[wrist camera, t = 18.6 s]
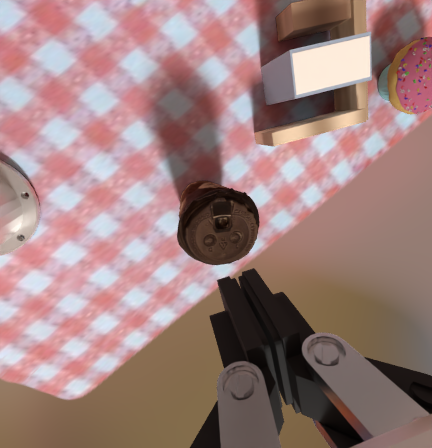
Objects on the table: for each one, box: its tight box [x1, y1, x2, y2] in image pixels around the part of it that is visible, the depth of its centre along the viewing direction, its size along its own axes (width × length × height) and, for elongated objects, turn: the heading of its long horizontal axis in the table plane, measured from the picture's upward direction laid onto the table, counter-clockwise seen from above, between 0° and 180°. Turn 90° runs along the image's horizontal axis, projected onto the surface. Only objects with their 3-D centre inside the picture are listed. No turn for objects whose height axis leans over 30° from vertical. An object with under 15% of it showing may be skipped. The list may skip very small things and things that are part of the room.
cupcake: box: [378, 37, 432, 114], centre depth 32 cm, size 9×8×12 cm
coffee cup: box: [177, 181, 259, 265], centre depth 32 cm, size 9×8×13 cm
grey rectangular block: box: [261, 32, 372, 105], centre depth 32 cm, size 9×4×8 cm, turn 103°
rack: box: [254, 0, 368, 146], centre depth 32 cm, size 14×14×6 cm
